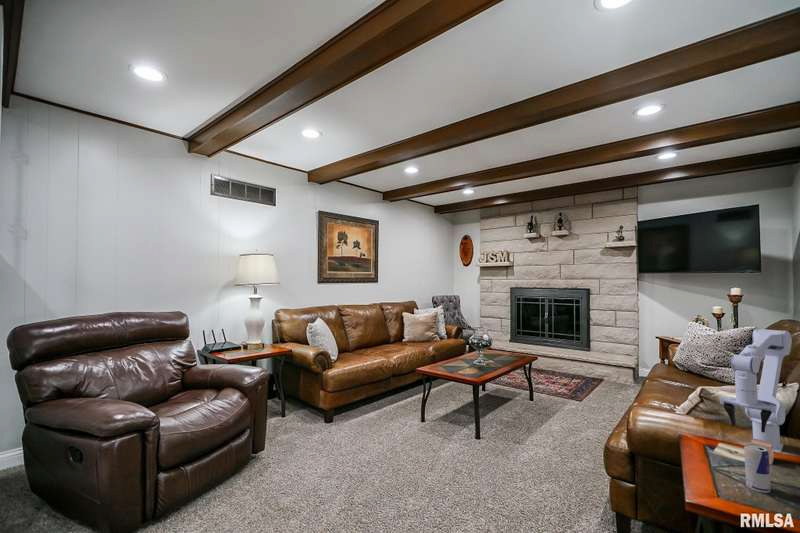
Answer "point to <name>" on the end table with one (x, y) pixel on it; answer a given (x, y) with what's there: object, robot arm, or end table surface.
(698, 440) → the end table surface
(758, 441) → the salmon cube
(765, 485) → the energy drink
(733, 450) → the birch board
